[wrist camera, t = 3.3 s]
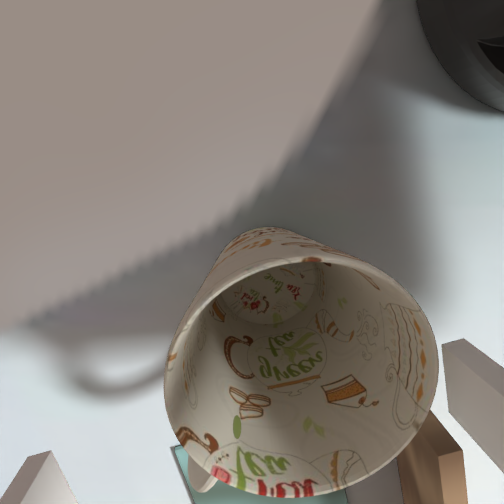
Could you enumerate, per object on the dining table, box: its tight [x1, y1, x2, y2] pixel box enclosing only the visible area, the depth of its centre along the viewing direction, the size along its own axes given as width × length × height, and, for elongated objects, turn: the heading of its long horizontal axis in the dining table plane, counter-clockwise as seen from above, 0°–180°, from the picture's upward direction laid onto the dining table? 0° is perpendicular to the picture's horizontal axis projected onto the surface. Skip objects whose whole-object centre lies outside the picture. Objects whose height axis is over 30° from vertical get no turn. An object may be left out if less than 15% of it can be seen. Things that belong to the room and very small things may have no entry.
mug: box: [164, 227, 439, 498], centre depth 16 cm, size 8×13×10 cm, turn 154°
